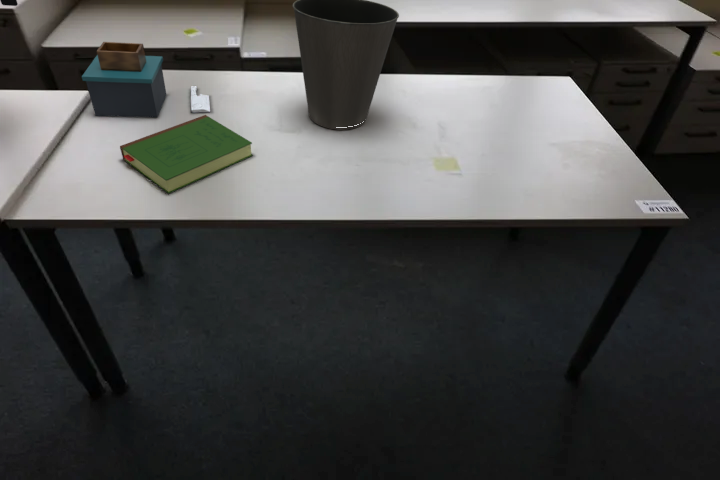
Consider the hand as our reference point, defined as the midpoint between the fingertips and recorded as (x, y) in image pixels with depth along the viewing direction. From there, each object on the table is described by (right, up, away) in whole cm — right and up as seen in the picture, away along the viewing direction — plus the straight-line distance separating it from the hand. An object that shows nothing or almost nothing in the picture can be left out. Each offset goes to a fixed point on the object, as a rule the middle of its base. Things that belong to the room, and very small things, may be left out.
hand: (1, 12), depth 113 cm
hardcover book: (+36, -30, +14) cm, 49 cm away
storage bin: (+15, -12, +31) cm, 37 cm away
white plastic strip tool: (+32, -9, +37) cm, 50 cm away
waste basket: (+73, -14, +37) cm, 83 cm away
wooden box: (+16, -4, +24) cm, 29 cm away
